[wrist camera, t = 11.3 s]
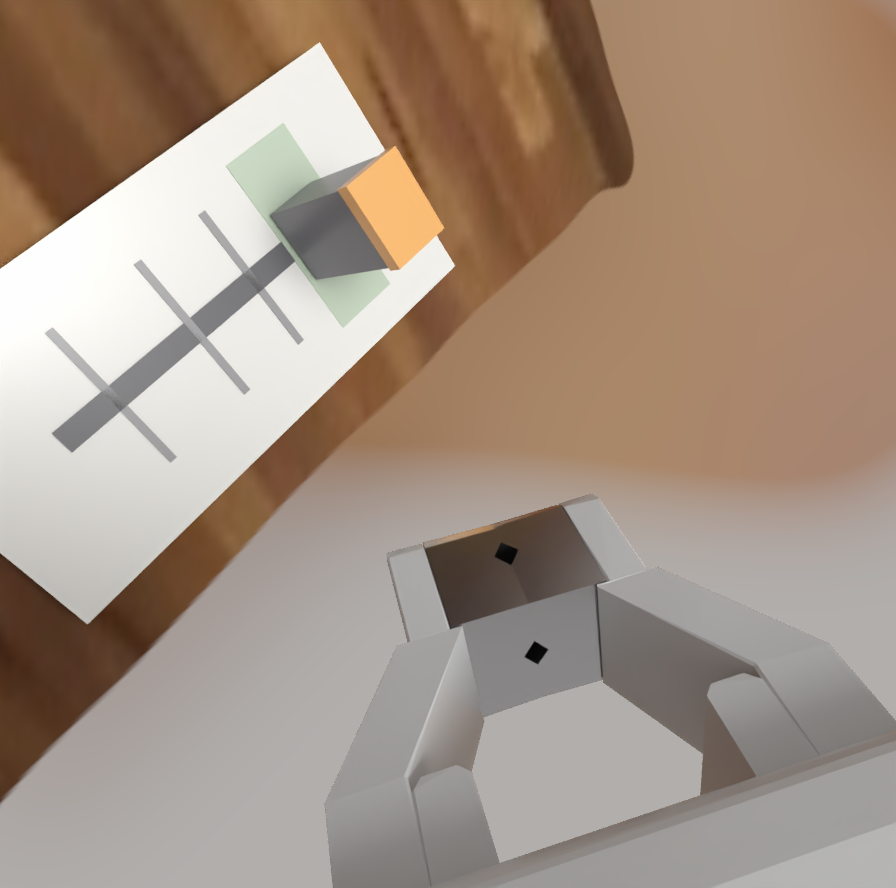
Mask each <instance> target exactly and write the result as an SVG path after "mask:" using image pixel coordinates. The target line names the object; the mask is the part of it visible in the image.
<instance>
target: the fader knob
mask: <svg viewBox="0 0 896 888" xmlns="http://www.w3.org/2000/svg"><path fill="white" fill-rule="evenodd" d="M270 216H271V217H272V219H273V220H274V221H275V223H276V224H277V226H278V227H279V228H280V230H281V231H282V232H283V234H284V235H285V237H286V238H287V239H288V241H289V242H290V244H291V245H292V246H293V248H294V249H295V251H296V252H297V253H298V255H299V256H300V258H301V259H302V260H303V262H304V263H305V264H306V266H307V267H308V269H309V270H310V271H311V273H312V274H313V276H314V277H315V278H316V280H318V279H324V278H331V277H337V276H343V275H349V274H355V273H362V272H368V271H374V270H380V269H387V268H389V270H390V271H393V270H400V269H401V268H402V267H403V266H404V265H405V264H406V263H408V262H409V261H410V260H411V259H412V258H413V257H414V256H415V255H416V254H417V253H418V252H419V251H420V250H421V249H422V248H424V247H425V246H426V245H427V244H428V243H429V242H430V241H431V240H432V239H433V238H434V237H435V236H436V235H437V234H439V233H440V232H441V231H442V230H443V229H444V227H443V225H442V223H441V222H440V220H439V218H438V217H437V215H436V213H435V212H434V210H433V208H432V207H431V205H430V203H429V202H428V200H427V198H426V197H425V195H424V193H423V191H422V190H421V188H420V186H419V185H418V183H417V181H416V180H415V178H414V176H413V175H412V173H411V171H410V170H409V168H408V166H407V165H406V163H405V161H404V160H403V158H402V156H401V155H400V153H399V151H398V150H397V148H396V146H394V147H391V148H389V149H386V150H385V151H383V152H382V153H381V154H380V155H378V156H376V157H374V158H371V159H368V160H366V161H363V162H361V163H358V164H356V165H353V166H351V167H348V168H345V169H343V170H340V171H338V172H335V173H333V174H330V175H327V176H325V177H322V178H320V179H317V180H315V181H312V182H310V183H309V184H308V185H306V186H305V187H304V188H303V189H301V190H300V191H299V192H298V193H296V194H295V195H294V196H293V197H291V198H290V199H289V200H288V201H287V202H285V203H284V204H283V205H282V206H280V207H279V208H278V209H277V210H275V211H274V212H273V213H272V214H270Z"/></svg>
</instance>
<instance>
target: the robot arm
mask: <svg viewBox="0 0 896 888" xmlns="http://www.w3.org/2000/svg"><path fill="white" fill-rule="evenodd" d="M387 562H388V566H389V570H390V574H391V578H392V582H393V586H394V590H395V594H396V598H397V602H398V605H399V610H400V613H401V617H402V622H403V626H404V629H405V633H406V638H407V643H404V644H401V645H397V647H396V649H395V651H394V653H393V655H392V658H391V660H390V662H389V664H388V666H387V669H386V671H385V673H384V675H383V677H382V680H381V682H380V684H379V686H378V688H377V690H376V693H375V695H374V697H373V699H372V701H371V703H370V706H369V708H368V710H367V712H366V714H365V717H364V719H363V721H362V723H361V725H360V728H359V730H358V732H357V734H356V736H355V738H354V741H353V743H352V745H351V747H350V750H349V751H348V754H347V756H346V758H345V761H344V763H343V765H342V767H341V769H340V771H339V773H338V775H337V778H336V780H335V782H334V784H333V786H332V789H331V791H330V793H329V795H328V797H327V800H326V802H325V813H326V823H327V833H328V843H329V853H330V863H331V873H332V882H333V888H896V720H895V719H894V718H893V717H892V716H891V715H890V714H889V713H888V711H887V710H886V709H885V708H884V706H883V705H882V704H881V703H880V702H879V701H878V700H877V698H876V697H875V696H874V695H873V694H872V692H871V691H870V690H869V689H868V688H867V687H866V686H865V684H864V683H863V682H862V681H861V680H860V678H859V677H858V676H857V675H856V674H855V673H854V672H853V670H852V669H851V668H850V667H849V666H848V665H847V664H846V662H845V661H844V660H843V659H842V658H841V656H840V655H839V654H838V653H837V652H836V651H835V649H834V648H833V647H832V646H831V645H830V644H829V643H828V642H825V641H823V640H821V639H818V638H816V637H814V636H812V635H810V634H807V633H805V632H803V631H801V630H798V629H796V628H794V627H791V626H790V625H787V624H785V623H783V622H781V621H778V620H776V619H773V618H772V617H769V616H767V615H765V614H763V613H760V612H758V611H756V610H754V609H751V608H749V607H747V606H745V605H742V604H740V603H738V602H736V601H733V600H731V599H729V598H727V597H725V596H722V595H720V594H718V593H716V592H713V591H711V590H709V589H707V588H704V587H702V586H700V585H698V584H695V583H693V582H691V581H689V580H686V579H684V578H682V577H680V576H678V575H675V574H673V573H670V572H668V571H666V570H664V569H662V568H660V567H655V568H652V569H649V570H648V569H647V568H646V567H645V565H644V564H643V562H642V561H641V559H640V558H639V556H638V555H637V553H636V552H635V550H634V549H633V547H632V546H631V545H630V543H629V542H628V540H627V539H626V537H625V536H624V534H623V533H622V531H621V530H620V528H619V527H618V525H617V524H616V522H615V521H614V519H613V518H612V516H611V515H610V514H609V512H608V511H607V509H606V508H605V506H604V505H603V503H602V502H601V500H600V499H599V497H598V496H596V495H594V494H589V495H586V496H582V497H579V498H576V499H573V500H569V501H566V502H563V503H560V504H559V505H555V506H551V507H548V508H544V509H541V510H538V511H534V512H531V513H528V514H525V515H521V516H518V517H514V518H511V519H508V520H504V521H501V522H498V523H494V524H491V525H488V526H484V527H480V528H476V529H472V530H469V531H465V532H461V533H457V534H453V535H450V536H446V537H442V538H438V539H435V540H431V541H427V542H423V545H422V544H419V545H415V546H411V547H407V548H404V549H399V550H396V551H392V552H388V553H387ZM600 680H603V683H605V684H606V685H607V686H609V687H610V688H612V689H613V690H615V691H616V692H617V693H619V694H620V695H622V696H623V697H624V698H626V699H627V700H629V701H630V702H631V703H633V704H634V705H635V706H637V707H638V708H640V709H641V710H642V711H644V712H645V713H647V714H648V715H649V716H651V717H652V718H654V719H655V720H657V721H658V722H659V723H661V724H662V725H663V726H665V727H666V728H668V729H669V730H670V731H672V732H673V733H675V734H676V735H677V736H679V737H680V738H682V739H683V740H684V741H686V742H687V743H689V744H690V745H691V746H693V747H694V748H696V749H697V750H698V751H700V752H701V753H703V762H702V778H701V792H700V796H697V797H694V798H691V799H688V800H685V801H682V802H679V803H676V804H673V805H671V806H668V807H665V808H662V809H659V810H656V811H653V812H650V813H647V814H644V815H641V816H638V817H635V818H632V819H629V820H626V821H623V822H620V823H617V824H614V825H611V826H608V827H606V828H603V829H599V830H597V831H594V832H591V833H588V834H585V835H582V836H579V837H576V838H573V839H570V840H567V841H564V842H561V843H558V844H555V845H552V846H549V847H546V848H543V849H541V850H537V851H534V852H531V853H529V854H525V855H523V856H520V857H517V858H514V859H511V860H508V861H505V862H502V863H499V859H498V856H497V853H496V849H495V846H494V843H493V840H492V836H491V833H490V830H489V826H488V823H487V820H486V816H485V813H484V810H483V807H482V803H481V800H480V797H479V794H478V790H477V787H476V783H475V780H474V777H473V774H472V768H473V764H474V760H475V756H476V752H477V748H478V744H479V740H480V736H481V732H482V728H483V724H484V718H483V717H486V716H489V715H491V714H494V713H497V712H500V711H503V710H506V709H509V708H512V707H515V706H518V705H521V704H523V703H526V702H529V701H532V700H535V699H538V698H541V697H542V696H543V697H544V696H547V695H551V694H554V693H558V692H561V691H565V690H568V689H572V688H575V687H579V686H582V685H586V684H589V683H593V682H596V681H600Z"/></svg>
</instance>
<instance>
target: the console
mask: <svg viewBox="0 0 896 888" xmlns="http://www.w3.org/2000/svg"><path fill="white" fill-rule="evenodd" d="M383 151H385V150H384V148H383V146H382V145H381V143H380V141H379V140H378V138H377V136H376V135H375V133H374V131H373V130H372V128H371V126H370V125H369V123H368V121H367V120H366V118H365V117H364V115H363V113H362V112H361V110H360V108H359V107H358V105H357V103H356V102H355V100H354V98H353V97H352V95H351V93H350V92H349V90H348V88H347V87H346V85H345V83H344V82H343V80H342V79H341V77H340V75H339V74H338V72H337V70H336V69H335V67H334V65H333V64H332V62H331V60H330V59H329V57H328V55H327V54H326V52H325V50H324V49H323V47H322V46H321V44H320V43H318V44H317V45H315V46H314V47H312V48H311V49H310V50H308V51H307V52H305V53H304V54H302V55H301V56H300V57H298V58H297V59H295V60H294V61H293V62H291V63H290V64H288V65H287V66H286V67H284V68H283V69H281V70H280V71H278V72H277V73H276V74H274V75H273V76H271V77H270V78H269V79H267V80H266V81H264V82H263V83H262V84H260V85H259V86H257V87H256V88H255V89H253V90H252V91H250V92H249V93H247V94H246V95H245V96H243V97H242V98H240V99H239V100H238V101H236V102H235V103H233V104H232V105H231V106H229V107H228V108H226V109H225V110H224V111H222V112H221V113H219V114H218V115H216V116H215V117H214V118H212V119H211V120H209V121H208V122H207V123H205V124H204V125H202V126H201V127H200V128H198V129H197V130H195V131H194V132H192V133H191V134H190V135H188V136H187V137H185V138H184V139H183V140H181V141H180V142H178V143H177V144H176V145H174V146H173V147H171V148H170V149H169V150H167V151H166V152H164V153H163V154H161V155H160V156H159V157H157V158H156V159H154V160H153V161H152V162H150V163H149V164H147V165H146V166H145V167H143V168H142V169H140V170H139V171H138V172H136V173H135V174H133V175H132V176H130V177H129V178H128V179H126V180H125V181H123V182H122V183H121V184H119V185H118V186H116V187H115V188H114V189H112V190H111V191H109V192H108V193H107V194H105V195H104V196H102V197H101V198H99V199H98V200H97V201H95V202H94V203H92V204H91V205H90V206H88V207H87V208H85V209H84V210H83V211H81V212H80V213H78V214H77V215H75V216H74V217H73V218H71V219H70V220H68V221H67V222H66V223H64V224H63V225H61V226H60V227H59V228H57V229H56V230H54V231H53V232H52V233H50V234H49V235H47V236H46V237H44V238H43V239H42V240H40V241H39V242H37V243H36V244H35V245H33V246H32V247H30V248H29V249H28V250H26V251H25V252H23V253H22V254H21V255H19V256H18V257H16V258H15V259H13V260H12V261H11V262H9V263H8V264H6V265H5V266H4V267H2V268H1V269H0V553H1V554H2V555H3V556H5V557H6V558H7V559H8V560H9V561H11V562H12V563H13V564H14V565H16V566H17V567H18V568H19V569H20V570H22V571H23V572H24V573H25V574H27V575H28V576H29V577H30V578H31V579H33V580H34V581H35V582H36V583H37V584H39V585H40V586H41V587H42V588H44V589H45V590H46V591H47V592H48V593H50V594H51V595H52V596H53V597H55V598H56V599H57V600H58V601H59V602H61V603H62V604H63V605H64V606H66V607H67V608H68V609H69V610H70V611H72V612H73V613H74V614H75V615H77V616H78V617H79V618H80V619H81V620H83V621H84V622H85V623H86V624H88V623H89V622H91V621H92V620H93V619H94V618H95V617H96V616H97V615H98V614H99V613H100V612H101V611H102V610H103V609H104V608H105V607H106V606H107V605H108V604H109V603H110V602H111V601H112V600H113V599H114V598H115V597H116V596H117V595H118V594H119V593H120V592H121V591H122V590H123V589H124V588H125V587H126V586H127V585H128V584H129V583H130V582H132V581H133V580H134V579H135V578H136V577H137V576H138V575H139V574H140V573H141V572H142V571H143V570H144V569H145V568H146V567H147V566H148V565H149V564H150V563H151V562H152V561H153V560H154V559H155V558H156V557H157V556H158V555H159V554H160V553H161V552H162V551H163V550H164V549H165V548H166V547H167V546H168V545H169V544H170V543H171V542H173V541H174V540H175V539H176V538H177V537H178V536H179V535H180V534H181V533H182V532H183V531H184V530H185V529H186V528H187V527H188V526H189V525H190V524H191V523H192V522H193V521H194V520H195V519H196V518H197V517H198V516H199V515H200V514H201V513H202V512H203V511H204V510H205V509H206V508H207V507H208V506H209V505H210V504H211V503H212V502H214V501H215V500H216V499H217V498H218V497H219V496H220V495H221V494H222V493H223V492H224V491H225V490H226V489H227V488H228V487H229V486H230V485H231V484H232V483H233V482H234V481H235V480H236V479H237V478H238V477H239V476H240V475H241V474H242V473H243V472H244V471H245V470H246V469H247V468H248V467H249V466H250V465H251V464H252V463H253V462H255V461H256V460H257V459H258V458H259V457H260V456H261V455H262V454H263V453H264V452H265V451H266V450H267V449H268V448H269V447H270V446H271V445H272V444H273V443H274V442H275V441H276V440H277V439H278V438H279V437H280V436H281V435H282V434H283V433H284V432H285V431H286V430H287V429H288V428H289V427H290V426H291V425H292V424H293V423H294V422H296V421H297V420H298V419H299V418H300V417H301V416H302V415H303V414H304V413H305V412H306V411H307V410H308V409H309V408H310V407H311V406H312V405H313V404H314V403H315V402H316V401H317V400H318V399H319V398H320V397H321V396H322V395H323V394H324V393H325V392H326V391H327V390H328V389H329V388H330V387H331V386H332V385H333V384H334V383H336V382H337V381H338V380H339V379H340V378H341V377H342V376H343V375H344V374H345V373H346V372H347V371H348V370H349V369H350V368H351V367H352V366H353V365H354V364H355V363H356V362H357V361H358V360H359V359H360V358H361V357H362V356H363V355H364V354H365V353H366V352H367V351H368V350H369V349H370V348H371V347H372V346H373V345H374V344H375V343H377V342H378V341H379V340H380V339H381V338H382V337H383V336H384V335H385V334H386V333H387V332H388V331H389V330H390V329H391V328H392V327H393V326H394V325H395V324H396V323H397V322H398V321H399V320H400V319H401V318H402V317H403V316H404V315H405V314H406V313H407V312H408V311H409V310H410V309H411V308H412V307H413V306H414V305H415V304H416V303H418V302H419V301H420V300H421V299H422V298H423V297H424V296H425V295H426V294H427V293H428V292H429V291H430V290H431V289H432V288H433V287H434V286H435V285H436V284H437V283H438V282H439V281H440V280H441V279H442V278H443V277H444V276H445V275H446V274H447V273H448V272H449V271H450V270H451V269H452V268H453V267H454V266H455V265H454V264H453V262H452V260H451V259H450V257H449V255H448V254H447V252H446V250H445V249H444V247H443V245H442V244H441V242H440V240H439V239H438V237H437V235H436V236H435V237H434V238H433V239H432V240H431V241H430V242H429V243H428V244H427V245H426V246H425V247H424V248H422V249H421V250H420V251H419V252H418V253H417V254H416V255H415V256H414V257H413V258H412V259H411V260H410V261H409V262H408V263H406V264H405V265H404V266H403V267H402V268H401V269H400V270H393V271H390V270H389V268H387V269H380V270H374V271H368V272H362V273H355V274H349V275H343V276H337V277H331V278H324V279H318V280H316V278H315V277H314V276H313V274H312V273H311V271H310V270H309V269H308V267H307V266H306V264H305V263H304V262H303V260H302V259H301V258H300V256H299V255H298V253H297V252H296V251H295V249H294V248H293V246H292V245H291V244H290V242H289V241H288V239H287V238H286V237H285V235H284V234H283V232H282V231H281V230H280V228H279V227H278V226H277V224H276V223H275V221H274V220H273V219H272V217H271V216H270V214H272V213H273V212H274V211H275V210H277V209H278V208H279V207H280V206H282V205H283V204H284V203H285V202H287V201H288V200H289V199H290V198H291V197H293V196H294V195H295V194H296V193H298V192H299V191H300V190H301V189H303V188H304V187H305V186H306V185H308V184H309V183H310V182H312V181H315V180H317V179H320V178H322V177H325V176H327V175H330V174H333V173H335V172H338V171H340V170H343V169H345V168H348V167H351V166H353V165H356V164H358V163H361V162H363V161H366V160H368V159H371V158H374V157H376V156H378V155H380V154H381V153H382V152H383Z"/></svg>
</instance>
